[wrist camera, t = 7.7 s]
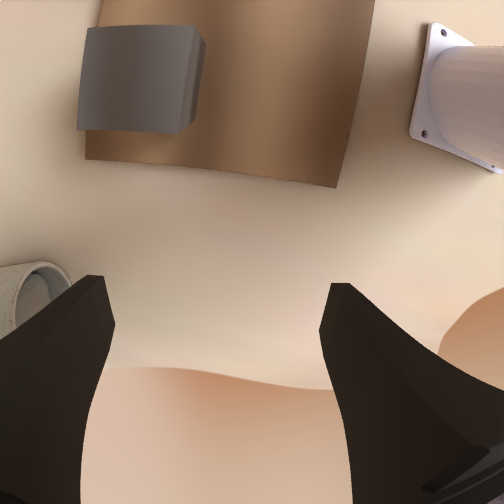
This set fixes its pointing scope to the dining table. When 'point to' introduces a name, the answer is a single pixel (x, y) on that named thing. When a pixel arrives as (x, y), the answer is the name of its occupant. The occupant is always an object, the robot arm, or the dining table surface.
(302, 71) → the thin brown board
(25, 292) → the ceramic mug
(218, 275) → the dining table surface
